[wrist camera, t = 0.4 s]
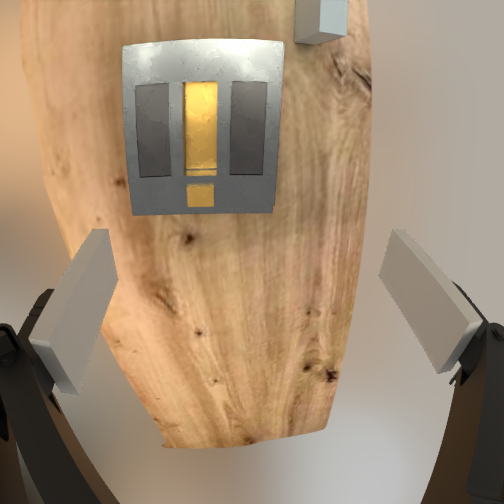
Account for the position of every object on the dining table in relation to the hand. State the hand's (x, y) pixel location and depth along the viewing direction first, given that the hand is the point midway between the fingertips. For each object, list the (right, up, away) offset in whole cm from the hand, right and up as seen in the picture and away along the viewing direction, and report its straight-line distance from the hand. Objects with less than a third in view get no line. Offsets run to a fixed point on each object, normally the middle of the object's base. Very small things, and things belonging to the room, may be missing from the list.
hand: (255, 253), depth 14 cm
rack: (-6, +15, +20) cm, 26 cm away
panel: (+6, +28, +13) cm, 31 cm away
